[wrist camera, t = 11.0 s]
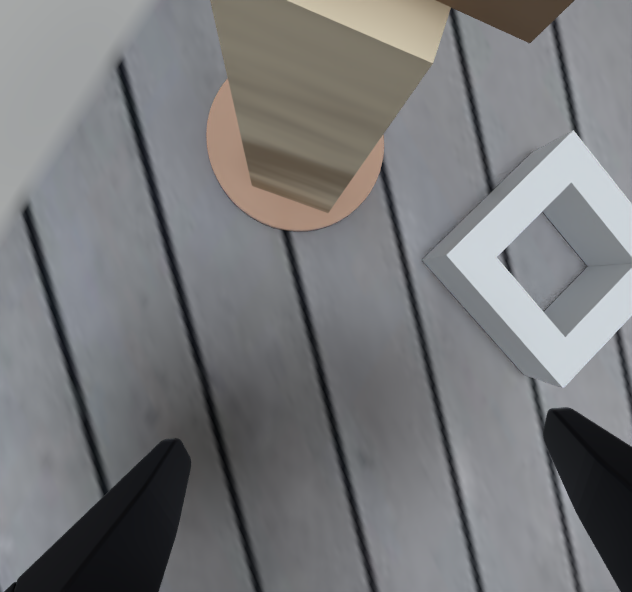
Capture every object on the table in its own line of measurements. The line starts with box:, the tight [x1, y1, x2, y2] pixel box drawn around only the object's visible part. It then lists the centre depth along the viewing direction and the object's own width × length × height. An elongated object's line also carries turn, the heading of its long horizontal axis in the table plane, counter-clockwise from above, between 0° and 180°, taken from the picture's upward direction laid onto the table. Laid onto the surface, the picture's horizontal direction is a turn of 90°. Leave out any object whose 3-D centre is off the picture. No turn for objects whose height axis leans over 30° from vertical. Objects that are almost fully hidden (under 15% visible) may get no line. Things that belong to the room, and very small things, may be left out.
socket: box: [422, 130, 632, 388], centre depth 20 cm, size 10×10×3 cm
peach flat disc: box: [206, 79, 384, 232], centre depth 19 cm, size 10×10×1 cm
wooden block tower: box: [210, 0, 574, 213], centre depth 12 cm, size 4×8×15 cm, turn 72°
